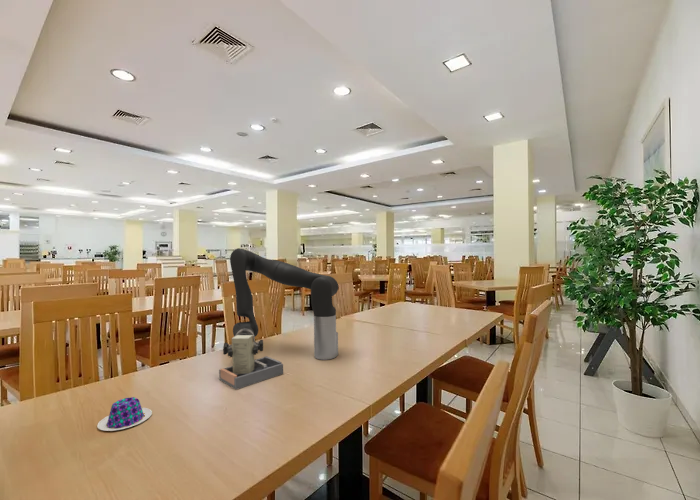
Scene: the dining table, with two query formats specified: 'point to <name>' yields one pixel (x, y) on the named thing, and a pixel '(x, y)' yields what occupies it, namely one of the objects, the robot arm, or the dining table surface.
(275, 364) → the pusher lane
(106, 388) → the dining table surface
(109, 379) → the dining table surface
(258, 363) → the bar
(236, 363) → the skincare box
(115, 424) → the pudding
